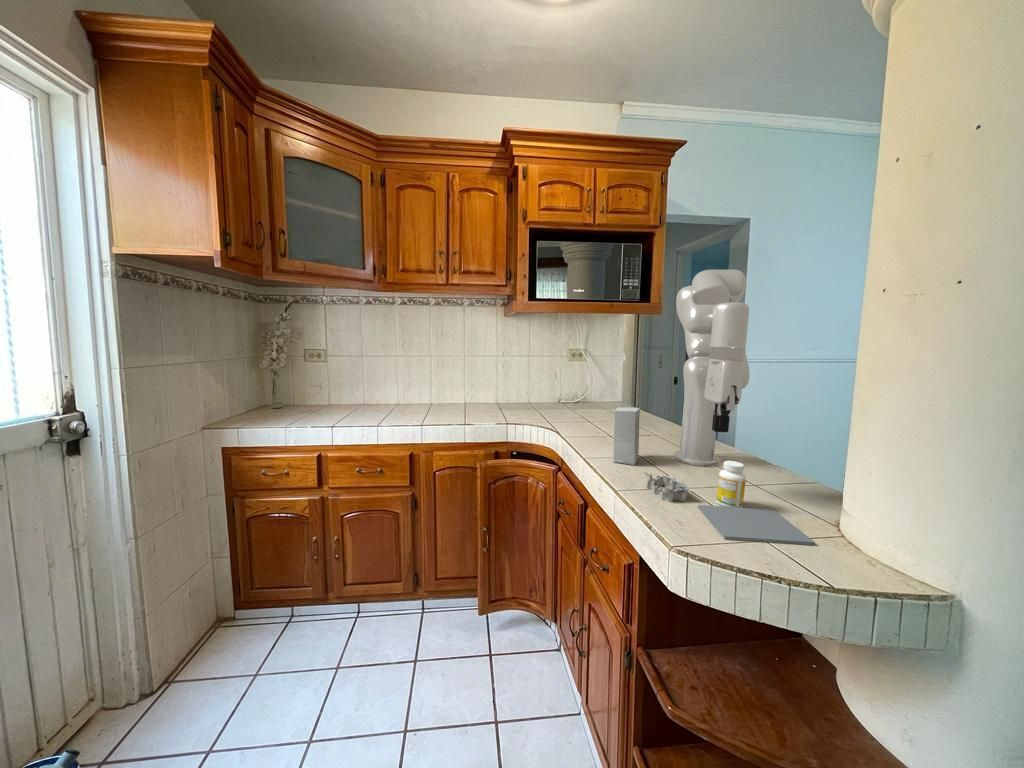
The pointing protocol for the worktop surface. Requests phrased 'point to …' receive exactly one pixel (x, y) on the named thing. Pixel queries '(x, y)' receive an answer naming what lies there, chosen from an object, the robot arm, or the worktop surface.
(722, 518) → the mat
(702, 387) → the robot arm
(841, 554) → the worktop surface
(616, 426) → the skincare box
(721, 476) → the supplement bottle
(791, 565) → the worktop surface
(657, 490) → the egg carton
